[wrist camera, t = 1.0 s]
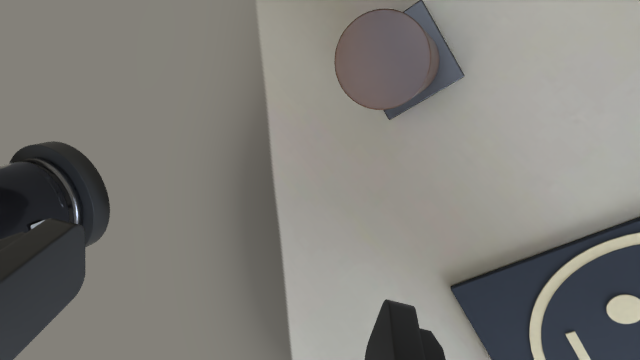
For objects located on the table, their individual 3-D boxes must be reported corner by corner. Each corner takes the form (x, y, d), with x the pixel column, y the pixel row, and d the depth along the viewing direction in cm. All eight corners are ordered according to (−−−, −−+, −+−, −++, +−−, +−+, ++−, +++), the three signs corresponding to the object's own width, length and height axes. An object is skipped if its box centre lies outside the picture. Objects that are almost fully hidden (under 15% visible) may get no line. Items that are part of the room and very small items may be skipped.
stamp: (393, 116, 27) (360, 142, 18) (355, 50, 26) (302, 43, 17) (464, 75, 25) (467, 80, 16) (424, 3, 24) (404, -34, 15)
